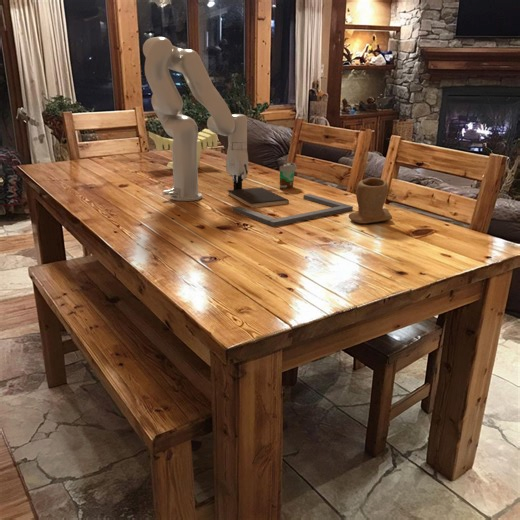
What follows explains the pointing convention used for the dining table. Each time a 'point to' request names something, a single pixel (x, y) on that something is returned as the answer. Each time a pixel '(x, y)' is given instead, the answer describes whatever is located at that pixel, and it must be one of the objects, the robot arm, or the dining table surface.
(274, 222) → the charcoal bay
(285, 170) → the food container
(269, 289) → the dining table surface
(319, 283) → the dining table surface
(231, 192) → the hardcover book
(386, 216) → the stone cup
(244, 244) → the dining table surface
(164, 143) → the slatted curved stool
